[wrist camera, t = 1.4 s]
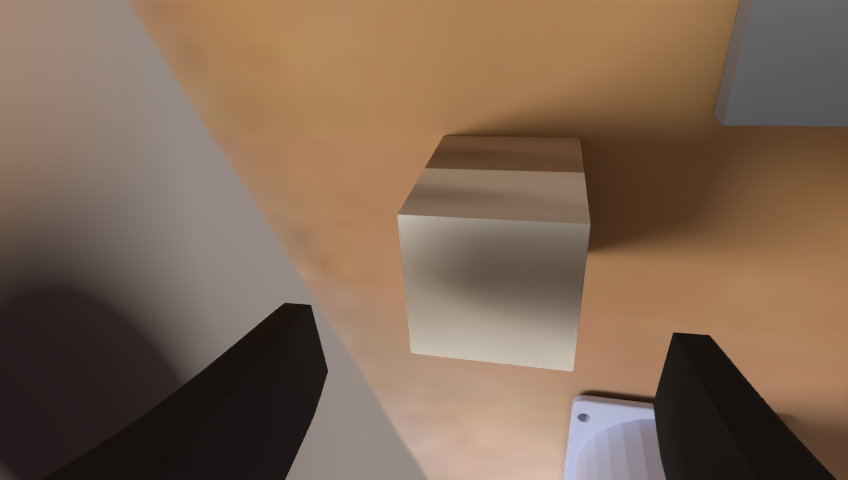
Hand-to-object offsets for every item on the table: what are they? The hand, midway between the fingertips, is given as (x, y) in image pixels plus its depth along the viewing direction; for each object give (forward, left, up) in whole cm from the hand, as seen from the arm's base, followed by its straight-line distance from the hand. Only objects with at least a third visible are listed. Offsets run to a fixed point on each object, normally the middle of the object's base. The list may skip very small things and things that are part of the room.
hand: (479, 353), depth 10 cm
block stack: (-1, 0, -9) cm, 9 cm away
